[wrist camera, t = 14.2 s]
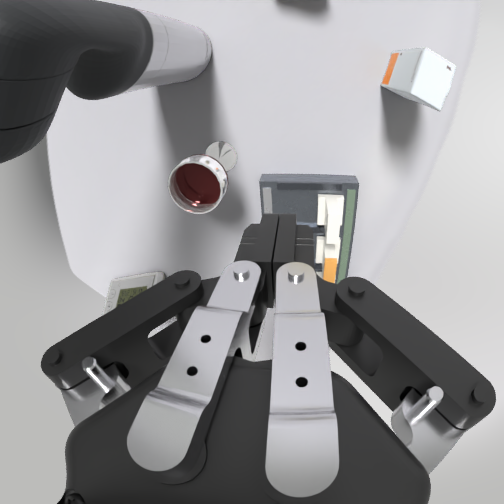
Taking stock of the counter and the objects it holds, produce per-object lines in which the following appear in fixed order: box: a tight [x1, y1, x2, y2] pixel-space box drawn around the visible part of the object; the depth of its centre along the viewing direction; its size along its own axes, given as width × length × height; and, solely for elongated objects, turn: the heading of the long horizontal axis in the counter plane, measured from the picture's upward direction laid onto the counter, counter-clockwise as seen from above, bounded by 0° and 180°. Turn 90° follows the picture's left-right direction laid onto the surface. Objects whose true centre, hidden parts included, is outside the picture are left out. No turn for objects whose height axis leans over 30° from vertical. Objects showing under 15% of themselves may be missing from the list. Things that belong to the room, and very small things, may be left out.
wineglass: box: [168, 141, 237, 214], centre depth 36 cm, size 7×7×12 cm
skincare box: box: [381, 47, 456, 111], centre depth 24 cm, size 6×4×12 cm
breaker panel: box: [259, 174, 359, 284], centre depth 45 cm, size 14×22×4 cm, turn 5°
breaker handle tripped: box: [315, 236, 341, 283], centre depth 41 cm, size 4×4×6 cm
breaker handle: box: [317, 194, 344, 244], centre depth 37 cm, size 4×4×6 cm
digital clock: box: [102, 272, 165, 316], centre depth 56 cm, size 16×9×11 cm, turn 97°
